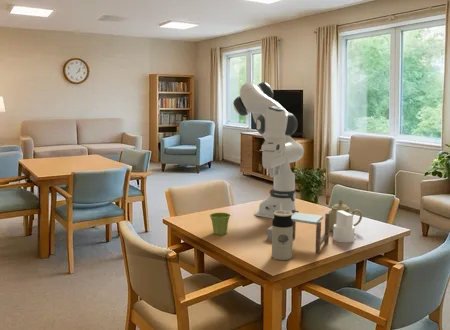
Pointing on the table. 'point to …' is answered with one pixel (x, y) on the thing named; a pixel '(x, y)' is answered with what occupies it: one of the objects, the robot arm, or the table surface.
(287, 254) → the travel mug
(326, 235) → the frame
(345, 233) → the base with upright slab
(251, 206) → the table surface
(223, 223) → the plant pot
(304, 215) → the trapdoor
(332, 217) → the olive teapot
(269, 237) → the stone
